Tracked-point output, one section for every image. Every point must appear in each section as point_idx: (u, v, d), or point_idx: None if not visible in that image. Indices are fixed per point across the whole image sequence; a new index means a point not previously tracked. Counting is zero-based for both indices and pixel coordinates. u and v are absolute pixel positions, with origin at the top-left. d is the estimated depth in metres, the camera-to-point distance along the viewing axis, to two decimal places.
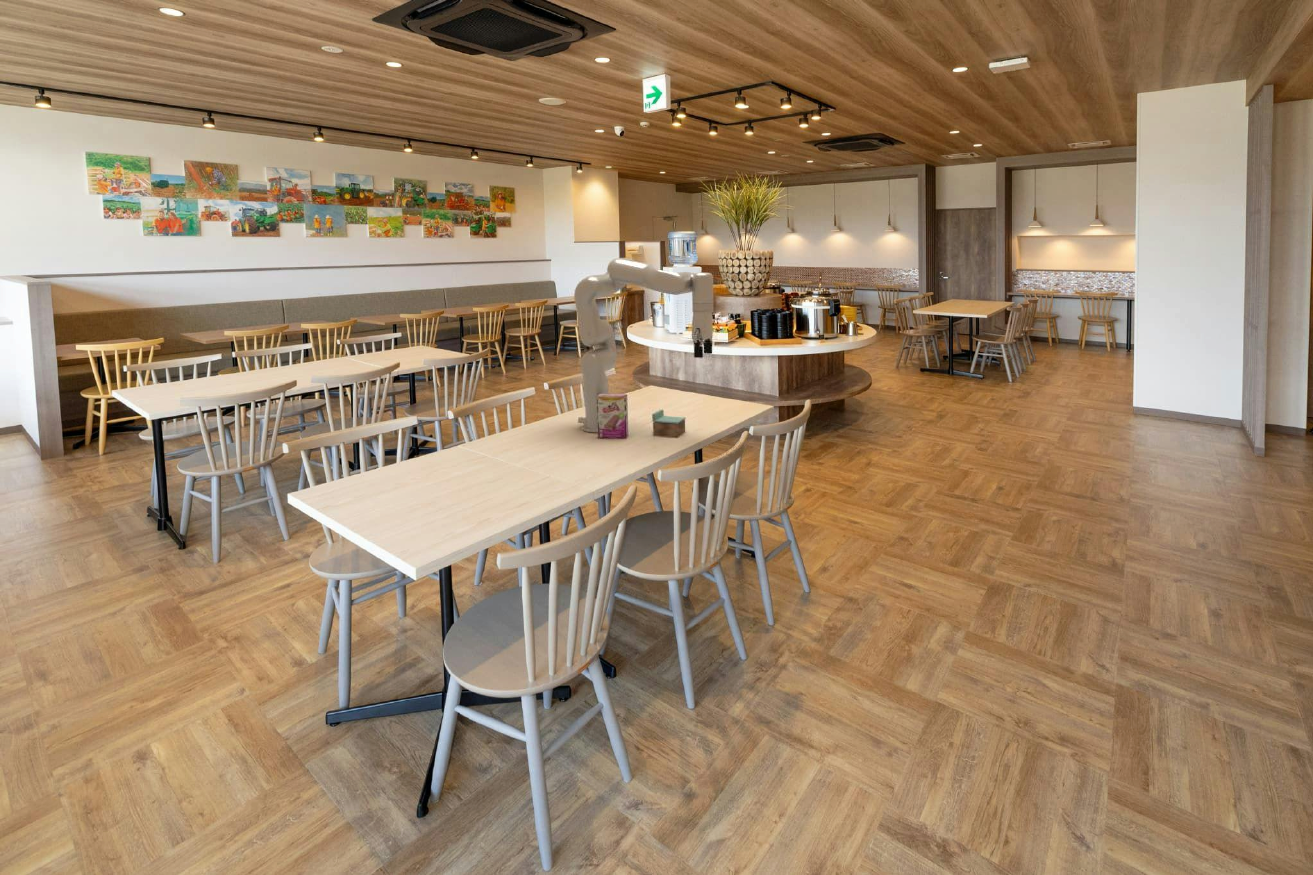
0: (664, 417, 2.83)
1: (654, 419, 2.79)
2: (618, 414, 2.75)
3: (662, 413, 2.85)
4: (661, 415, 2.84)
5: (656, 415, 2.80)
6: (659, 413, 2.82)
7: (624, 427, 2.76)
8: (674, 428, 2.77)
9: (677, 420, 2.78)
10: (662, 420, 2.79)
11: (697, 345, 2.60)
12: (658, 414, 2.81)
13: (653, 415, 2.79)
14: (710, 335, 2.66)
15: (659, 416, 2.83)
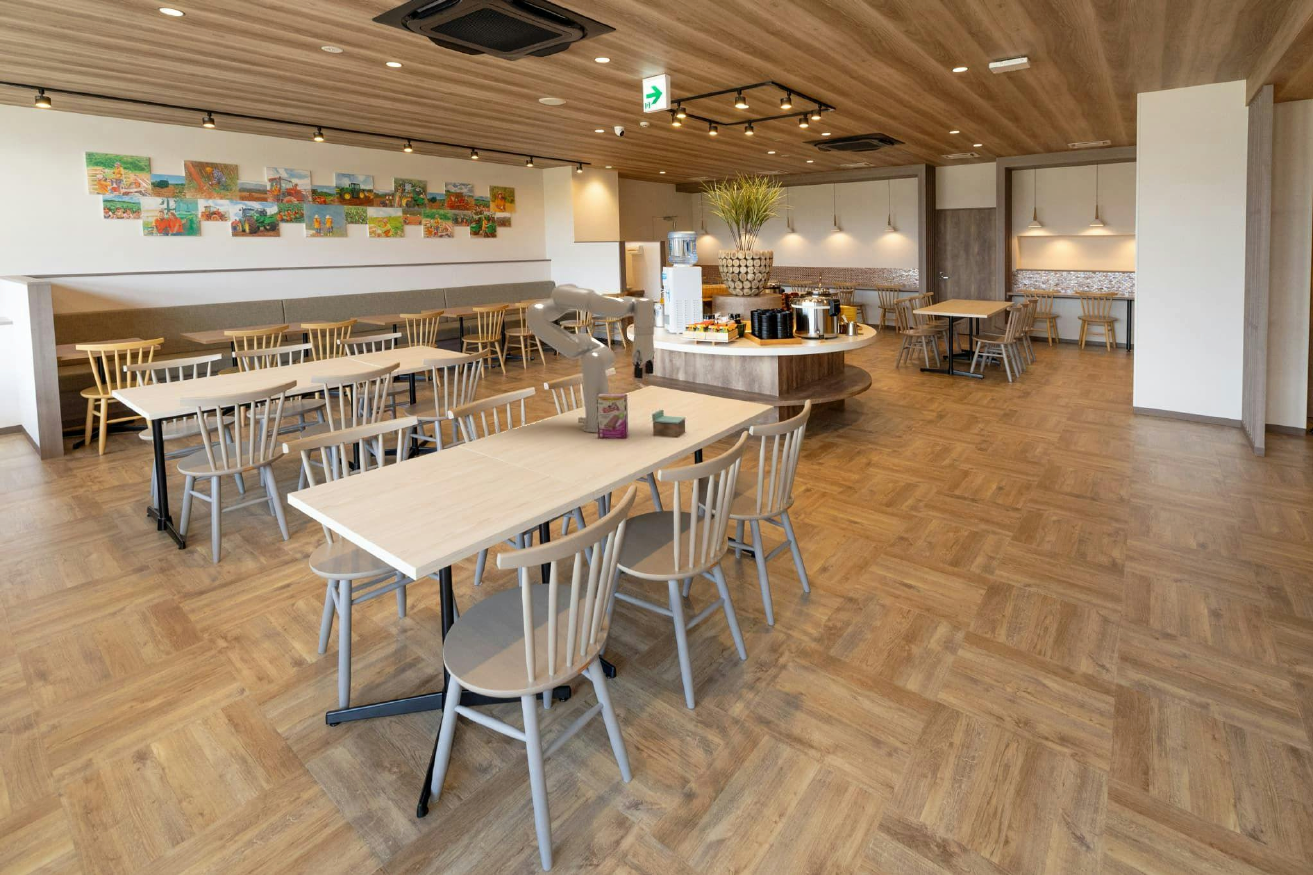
0: (664, 417, 2.83)
1: (654, 419, 2.79)
2: (618, 414, 2.75)
3: (662, 413, 2.85)
4: (661, 415, 2.84)
5: (656, 415, 2.80)
6: (659, 413, 2.82)
7: (624, 427, 2.76)
8: (674, 428, 2.77)
9: (677, 420, 2.78)
10: (662, 420, 2.79)
11: (637, 366, 2.74)
12: (658, 414, 2.81)
13: (653, 415, 2.79)
14: (651, 357, 2.79)
15: (659, 416, 2.83)
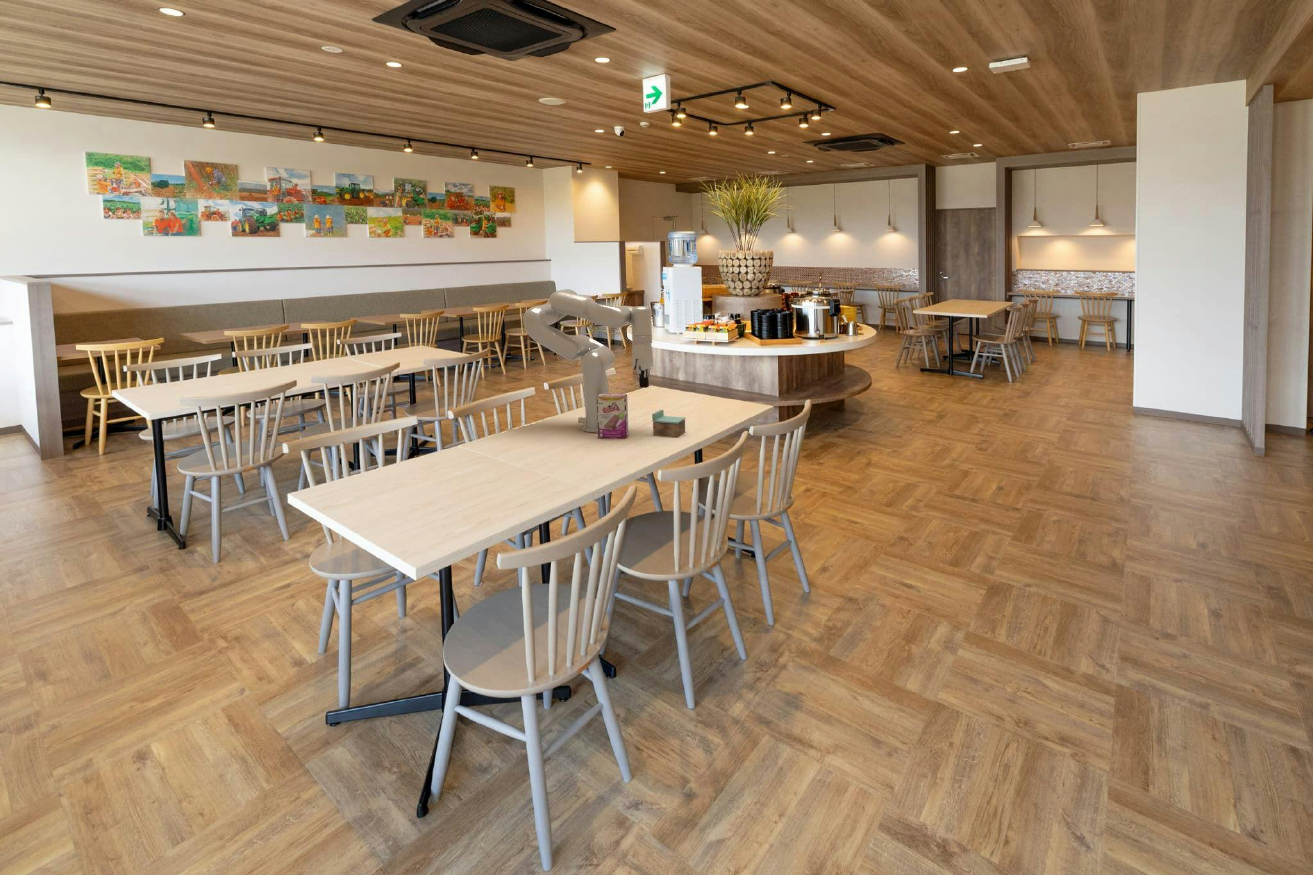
0: (664, 417, 2.83)
1: (654, 419, 2.79)
2: (618, 414, 2.75)
3: (662, 413, 2.85)
4: (661, 415, 2.84)
5: (656, 415, 2.80)
6: (659, 413, 2.82)
7: (624, 427, 2.76)
8: (674, 428, 2.77)
9: (677, 420, 2.78)
10: (662, 420, 2.79)
11: None
12: (658, 414, 2.81)
13: (653, 415, 2.79)
14: (650, 365, 2.81)
15: (659, 416, 2.83)
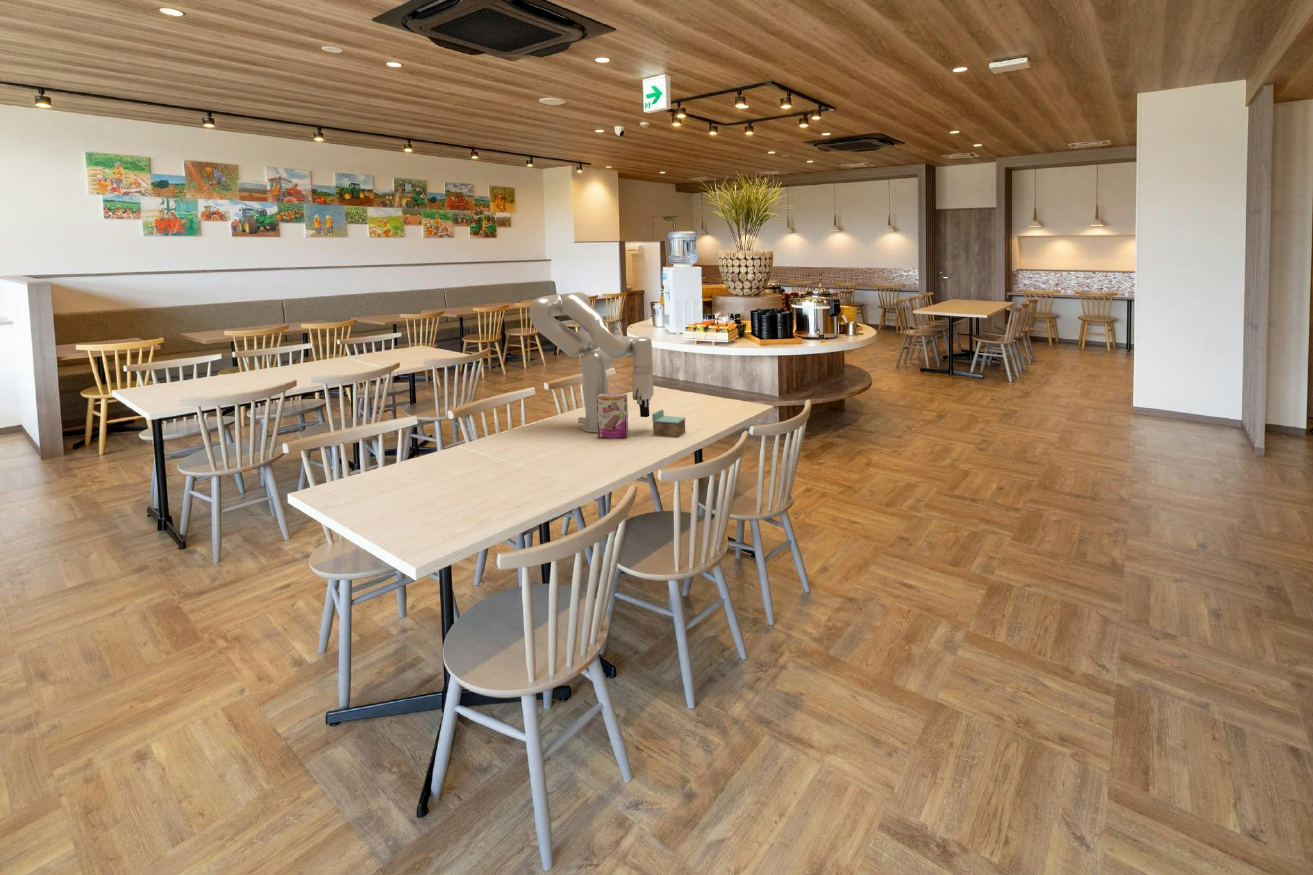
0: (664, 417, 2.83)
1: (654, 419, 2.79)
2: (618, 414, 2.75)
3: (662, 413, 2.85)
4: (661, 415, 2.84)
5: (656, 415, 2.80)
6: (659, 413, 2.82)
7: (624, 427, 2.76)
8: (674, 428, 2.77)
9: (677, 420, 2.78)
10: (662, 420, 2.79)
11: None
12: (658, 414, 2.81)
13: (653, 415, 2.79)
14: (651, 394, 2.84)
15: (659, 416, 2.83)
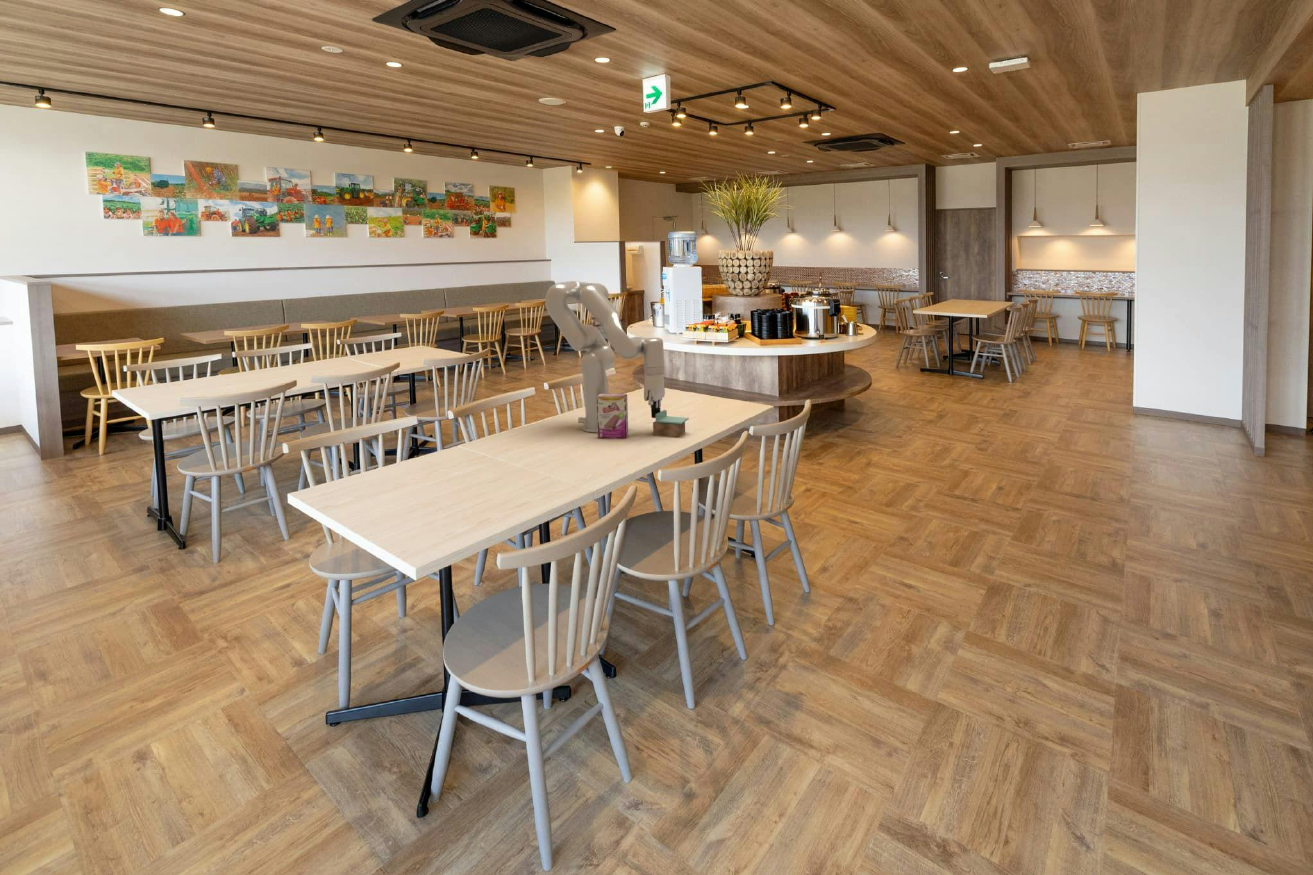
0: (667, 417, 2.83)
1: (657, 419, 2.79)
2: (618, 414, 2.75)
3: (665, 413, 2.84)
4: (664, 415, 2.84)
5: (659, 415, 2.79)
6: (662, 413, 2.81)
7: (624, 427, 2.76)
8: (674, 428, 2.77)
9: (680, 420, 2.78)
10: (665, 420, 2.78)
11: None
12: (661, 414, 2.81)
13: (656, 415, 2.78)
14: (662, 395, 2.82)
15: (663, 417, 2.82)
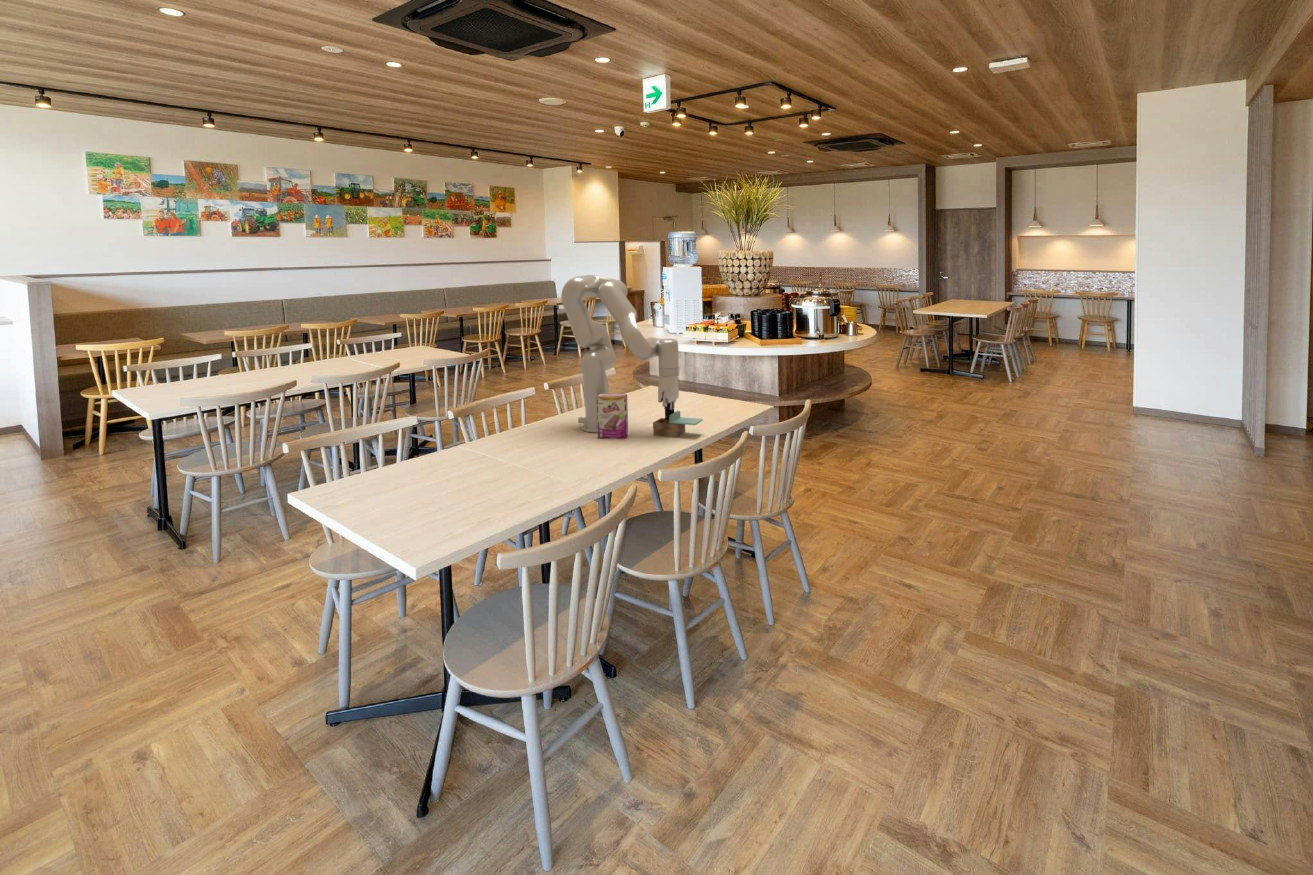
0: (681, 418, 2.80)
1: (671, 420, 2.76)
2: (618, 414, 2.75)
3: (679, 414, 2.82)
4: (678, 416, 2.81)
5: (673, 416, 2.77)
6: (676, 414, 2.79)
7: (624, 427, 2.76)
8: (674, 428, 2.77)
9: (694, 421, 2.75)
10: (679, 421, 2.76)
11: None
12: (675, 415, 2.79)
13: (670, 416, 2.76)
14: (676, 397, 2.79)
15: (676, 418, 2.80)
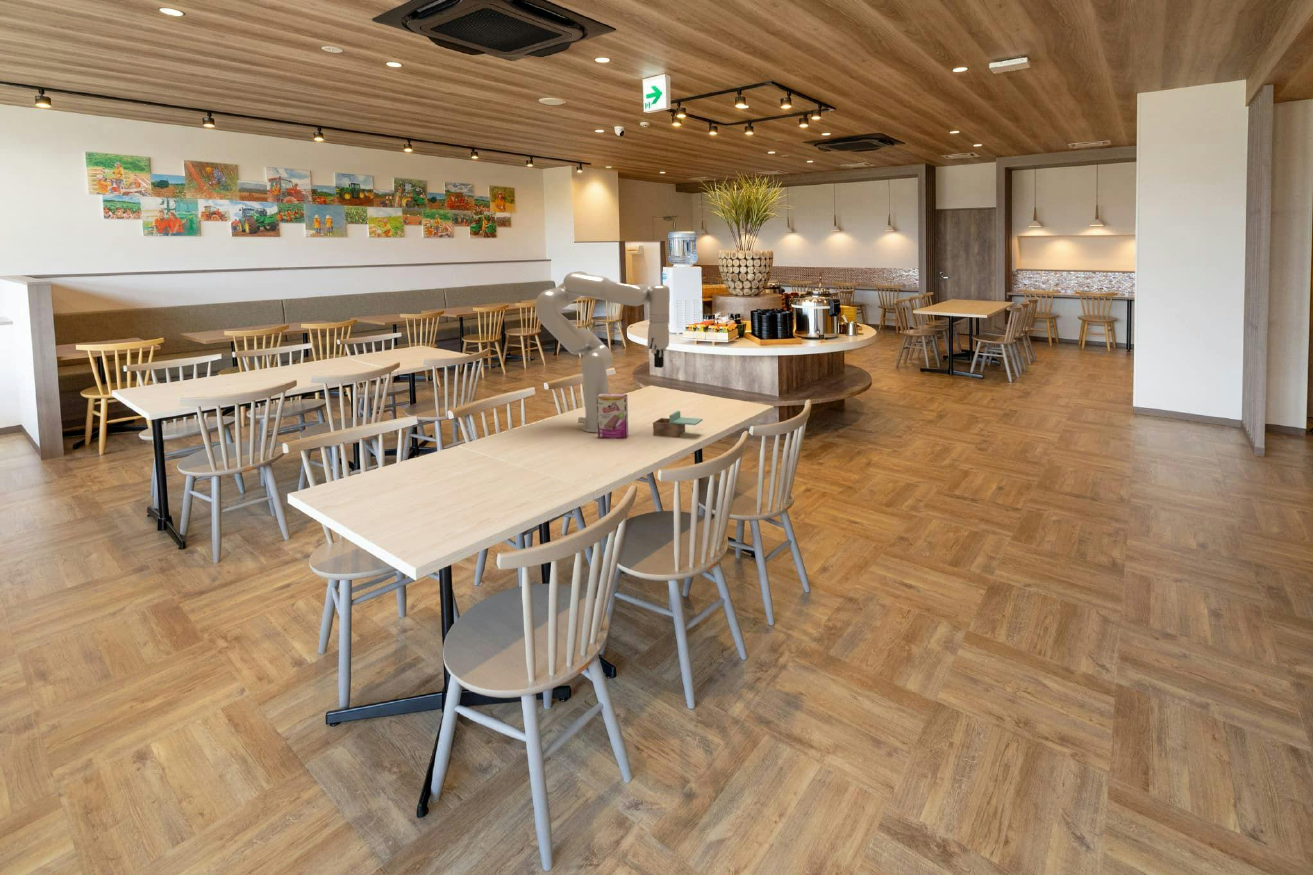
0: (681, 418, 2.80)
1: (671, 420, 2.76)
2: (618, 414, 2.75)
3: (679, 414, 2.82)
4: (678, 416, 2.81)
5: (673, 416, 2.77)
6: (676, 414, 2.79)
7: (624, 427, 2.76)
8: (674, 428, 2.77)
9: (694, 421, 2.75)
10: (679, 421, 2.76)
11: None
12: (675, 415, 2.79)
13: (670, 416, 2.76)
14: (666, 345, 2.79)
15: (676, 418, 2.80)
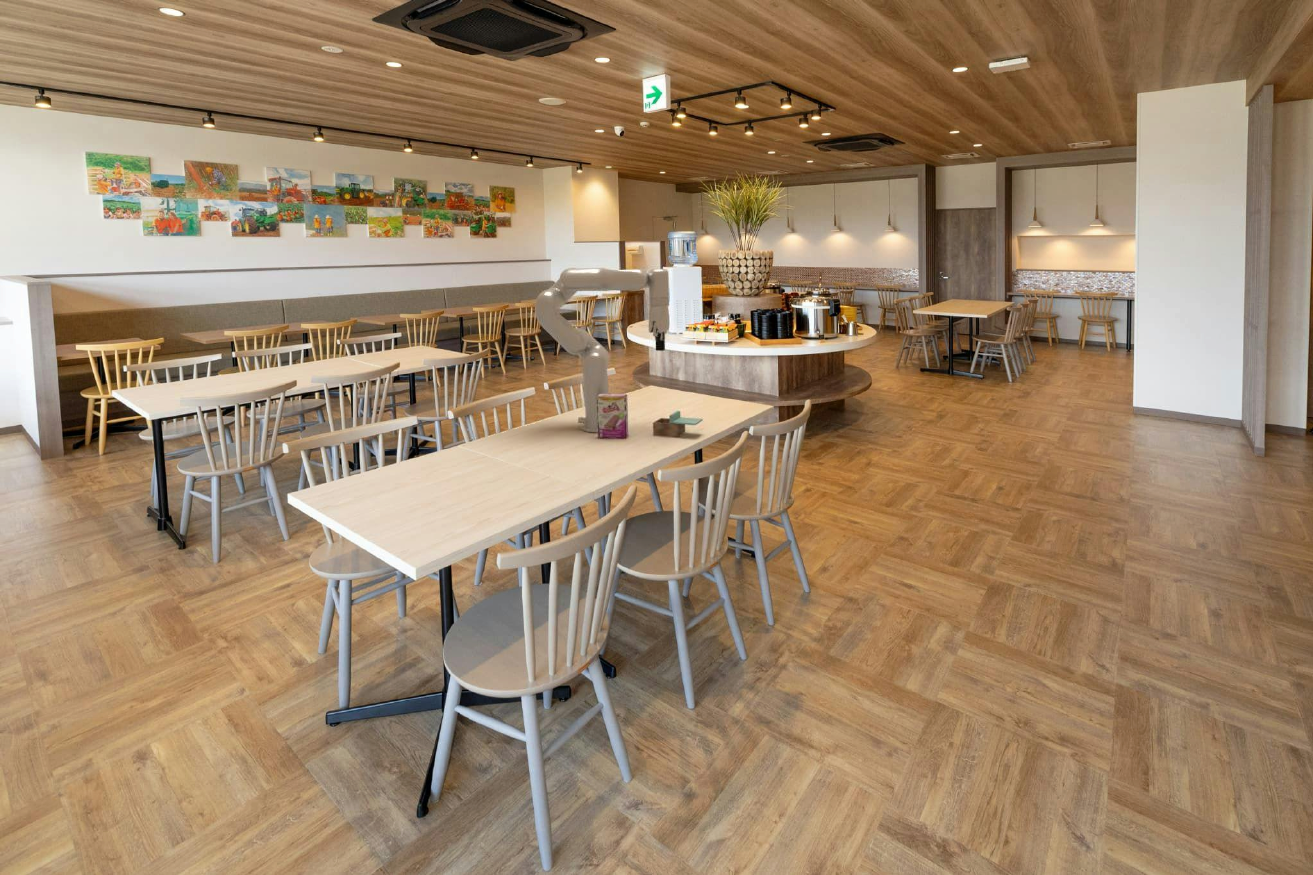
0: (681, 418, 2.80)
1: (671, 420, 2.76)
2: (618, 414, 2.75)
3: (679, 414, 2.82)
4: (678, 416, 2.81)
5: (673, 416, 2.77)
6: (676, 414, 2.79)
7: (624, 427, 2.76)
8: (674, 428, 2.77)
9: (694, 421, 2.75)
10: (679, 421, 2.76)
11: None
12: (675, 415, 2.79)
13: (670, 416, 2.76)
14: (666, 328, 2.82)
15: (676, 418, 2.80)
